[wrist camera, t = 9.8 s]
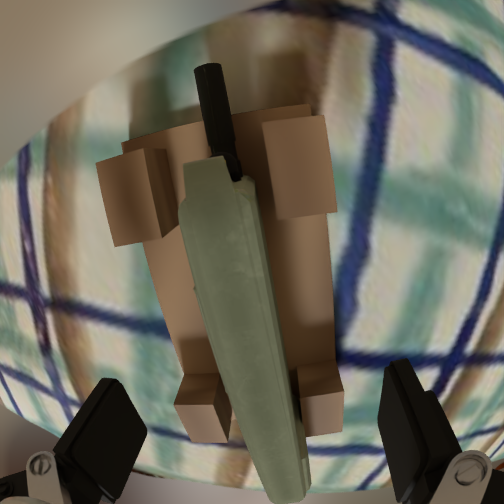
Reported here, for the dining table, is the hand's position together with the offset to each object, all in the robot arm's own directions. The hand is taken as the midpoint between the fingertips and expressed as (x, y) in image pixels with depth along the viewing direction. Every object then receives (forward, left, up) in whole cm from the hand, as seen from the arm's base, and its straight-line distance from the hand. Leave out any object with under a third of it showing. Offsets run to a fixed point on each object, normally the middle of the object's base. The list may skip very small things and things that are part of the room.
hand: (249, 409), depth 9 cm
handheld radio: (0, 0, -8) cm, 8 cm away
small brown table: (+1, 0, -9) cm, 9 cm away
